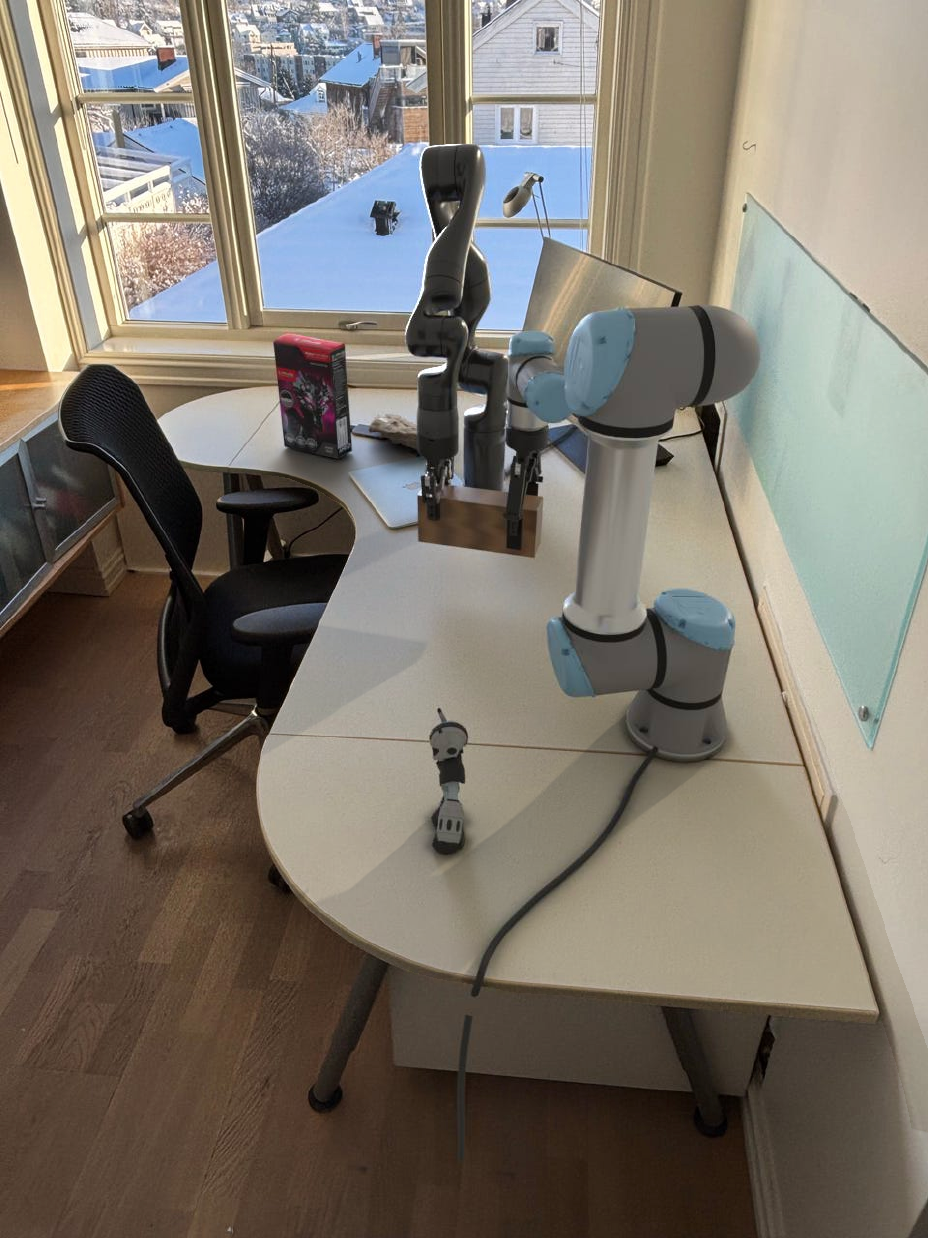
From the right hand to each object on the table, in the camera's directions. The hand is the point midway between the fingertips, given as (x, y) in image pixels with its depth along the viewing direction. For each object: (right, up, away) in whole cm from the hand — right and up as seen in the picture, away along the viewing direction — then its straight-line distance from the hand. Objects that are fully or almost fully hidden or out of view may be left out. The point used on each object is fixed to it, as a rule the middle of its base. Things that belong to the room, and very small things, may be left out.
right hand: (521, 530), depth 172 cm
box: (-8, -2, +4) cm, 9 cm away
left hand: (-16, +4, +2) cm, 16 cm away
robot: (-13, -45, -47) cm, 67 cm away
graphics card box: (-47, +26, +59) cm, 80 cm away
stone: (-25, +28, +63) cm, 73 cm away
